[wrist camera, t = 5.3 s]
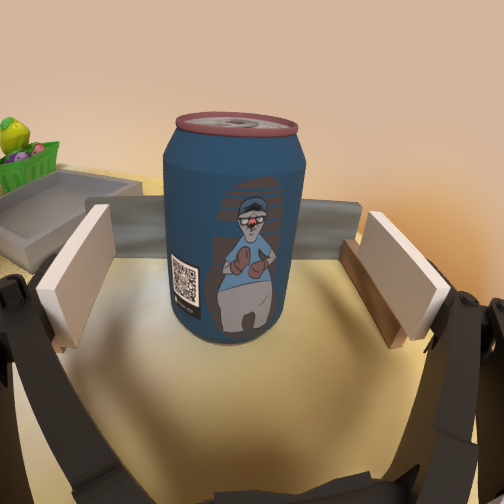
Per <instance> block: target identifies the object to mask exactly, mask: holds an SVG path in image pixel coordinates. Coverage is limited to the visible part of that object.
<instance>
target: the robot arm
mask: <svg viewBox="0 0 504 504" xmlns="http://www.w3.org/2000/svg"><path fill="white" fill-rule="evenodd" d="M115 254H116V250H115V243H114V237H113V230H112V223H111V215H110V207H109V204H99V205H94V207H93V208H92V209H91V210H90V212H89V213H88V214H87V216H86V217H85V218H84V220H83V221H82V222H81V223H80V225H79V226H78V227H77V229H76V230H75V231H74V233H73V234H72V236H71V237H70V238H69V240H68V241H67V242H66V244H65V245H64V247H63V248H62V250H61V251H60V252H59V254H52V255H50V256H49V257H48V258H47V259H45V260H44V261H43V263H42V264H41V266H40V267H39V269H38V270H37V271H36V273H35V275H34V276H33V277H32V279H31V280H30V282H29V283H28V285H26V282H25V279H24V278H23V276H22V275H19V274H11V275H8V276H5V277H3V278H2V279H0V504H34V501H33V498H32V494H31V490H30V487H29V483H28V479H27V475H26V470H25V466H24V461H23V456H22V451H21V445H20V440H19V433H18V426H17V419H16V411H15V401H14V389H13V371H12V362H15V364H16V367H17V370H18V373H19V376H20V379H21V382H22V384H23V387H24V390H25V392H26V395H27V398H28V400H29V403H30V405H31V407H32V410H33V412H34V415H35V417H36V419H37V421H38V424H39V426H40V428H41V430H42V432H43V434H44V436H45V439H46V441H47V443H48V445H49V447H50V449H51V450H52V452H53V454H54V456H55V458H56V460H57V462H58V464H59V465H60V467H61V469H62V471H63V472H64V474H65V476H66V478H67V479H68V481H69V483H70V485H71V487H72V495H73V498H74V500H75V501H76V503H77V504H156V503H155V501H154V500H153V499H152V498H151V497H150V496H149V495H148V494H147V492H146V491H145V490H144V489H143V488H142V487H141V485H140V484H139V483H138V482H137V481H136V479H135V478H134V477H133V476H132V474H131V473H130V472H129V470H128V469H127V468H126V467H125V465H124V464H123V463H122V461H121V460H120V459H119V457H118V456H117V455H116V453H115V452H114V450H113V449H112V448H111V446H110V445H109V443H108V442H107V440H106V439H105V438H104V436H103V435H102V433H101V432H100V430H99V429H98V427H97V425H96V424H95V422H94V421H93V419H92V418H91V416H90V414H89V413H88V411H87V410H86V408H85V406H84V405H83V403H82V401H81V399H80V398H79V396H78V394H77V393H76V391H75V389H74V387H73V385H72V384H71V382H70V380H69V378H68V376H67V374H66V372H65V370H64V368H63V366H62V365H61V363H60V361H59V358H58V356H57V354H56V352H55V350H54V348H53V346H52V344H51V343H52V341H53V339H54V336H55V337H56V339H57V342H58V344H59V346H61V347H69V348H77V346H78V344H79V341H80V338H81V335H82V333H83V330H84V327H85V325H86V322H87V320H88V317H89V314H90V312H91V309H92V307H93V304H94V302H95V299H96V297H97V295H98V292H99V290H100V288H101V285H102V283H103V281H104V278H105V276H106V274H107V271H108V269H109V267H110V265H111V263H112V260H113V258H114V256H115ZM357 256H358V258H359V259H360V261H361V262H362V264H363V265H364V267H365V268H366V270H367V271H368V273H369V274H370V276H371V277H372V279H373V280H374V282H375V283H376V285H377V287H378V288H379V290H380V291H381V293H382V294H383V296H384V298H385V299H386V301H387V302H388V304H389V306H390V307H391V309H392V310H393V312H394V314H395V315H396V317H397V319H398V320H399V322H400V324H401V325H402V327H403V329H404V330H405V332H406V334H407V335H408V337H409V339H410V341H413V340H419V339H424V338H425V336H426V335H427V333H428V331H429V329H430V328H431V330H432V331H433V333H434V335H433V337H432V338H431V340H430V342H429V343H428V345H427V347H426V349H425V350H424V352H423V353H426V352H427V351H428V353H427V357H426V361H425V365H424V369H423V373H422V377H421V380H420V384H419V387H418V391H417V394H416V398H415V401H414V404H413V407H412V410H411V413H410V416H409V419H408V422H407V425H406V428H405V431H404V434H403V436H402V439H401V442H400V444H399V447H398V449H397V452H396V454H395V457H394V459H393V462H392V464H391V466H390V468H389V469H388V471H387V472H386V473H385V475H384V476H383V477H382V479H374V478H371V475H370V472H369V471H367V472H363V473H359V474H355V475H351V476H346V477H342V478H337V479H334V480H332V481H330V482H327V483H325V484H323V485H321V486H318V487H316V488H314V489H311V490H309V491H307V492H304V493H302V494H298V495H292V494H281V493H272V492H264V491H257V490H251V491H232V492H214V498H213V499H209V500H205V501H202V502H199V503H197V504H467V502H468V499H469V495H470V491H471V488H472V484H473V479H474V475H475V471H476V466H477V461H478V499H479V504H504V300H502V299H499V298H493V299H492V300H491V302H490V304H489V306H482V305H480V304H479V302H478V300H477V299H476V298H475V297H474V296H472V295H471V294H469V293H467V292H464V291H458V292H457V290H456V289H455V288H454V287H453V286H452V285H451V283H450V282H449V281H448V280H447V279H446V278H445V276H443V274H442V273H441V272H440V271H438V269H437V267H436V266H435V265H434V264H433V263H432V262H431V261H429V260H428V259H426V258H425V257H424V256H422V254H421V253H420V252H419V251H418V250H417V249H416V248H415V247H414V246H413V245H412V243H411V242H410V241H409V240H408V239H407V238H406V237H405V236H404V235H403V234H402V233H401V232H400V231H399V230H398V229H397V228H396V227H395V226H394V225H393V224H392V223H391V222H390V221H389V220H388V219H387V218H386V217H385V216H384V215H383V214H382V213H381V212H373V211H369V213H368V217H367V221H366V225H365V229H364V232H363V236H362V240H361V243H360V247H359V251H358V254H357ZM495 342H496V344H495ZM494 344H495V348H494V350H492V347H493V345H494ZM475 415H476V427H477V444H475V443H472V442H471V438H472V432H473V426H474V419H475Z"/></svg>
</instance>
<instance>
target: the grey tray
mask: <svg viewBox="0 0 504 504" xmlns="http://www.w3.org/2000/svg"><path fill="white" fill-rule="evenodd" d="M106 196H143V191H142V182H139V181H133V180H127V179H121V178H115V177H109V176H103V175H96V174H90V173H83V172H77V171H70V170H63V169H58V170H56V171H53V172H51V173H49V174H47V175H44V176H42V177H40V178H37V179H35V180H33V181H31V182H29V183H26V184H24V185H22V186H20V187H18V188H16V189H14V190H12V191H10V192H8V193H6V194H4V195H2V196H0V254H1V255H2V256H4V257H5V258H7V259H8V260H10V261H11V262H13V263H14V264H16V265H18V266H19V267H21V268H22V269H24V270H26V271H27V272H29V273H30V274H32V275H33V274H34V273H35V272H36V271H37V270H38V269H39V267H40V266H41V264H42V263H43V261H44V260H45V259H47V258H48V257H49V256H50V255H52V254H59V252H60V251H61V250H62V248H63V247H64V245H65V244H66V242H67V241H68V240H69V238H70V237H71V236H72V234H73V233H74V231H75V230H76V229H77V227H78V226H79V225H80V223H81V222H82V221H83V220H84V218H85V217H86V210H85V204H84V202H85V201H86V199H87V198H88V197H106Z"/></svg>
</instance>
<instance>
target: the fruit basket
mask: <svg viewBox="0 0 504 504" xmlns="http://www.w3.org/2000/svg"><path fill="white" fill-rule="evenodd" d="M29 137H30V130H29V129H28V128H27V127H26V126H25V125H23V124H22V123H20V122H19V121H17V120H16V119H13V118H12V117H7V118H6V119H4V120H3V121H2V122H1V124H0V146H1V149H2V151H3V153H4V154H5V155H6V156H5V157H3V158H2V159H0V184H1V186H2V188H3V190H4V192H5V193H8V192H10V191H12V190H14V189H16V188H18V187H20V186H22V185H24V184H26V183H29V182H31V181H33V180H35V179H37V178H40V177H42V176H44V175H47V174H49V173H51V172H53V171H55V164H56V157H57V150H58V148H59V142H57V141H56V142H46V143H38V142H34V143H31V144H29V145H28V143H29Z"/></svg>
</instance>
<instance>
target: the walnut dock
mask: <svg viewBox="0 0 504 504" xmlns="http://www.w3.org/2000/svg"><path fill="white" fill-rule="evenodd" d="M84 204H85V210H86V216H87V214H88V213H89V212H90V210H91V209H92V208H93V207H94V205H99V204H109V207H110V215H111V223H112V230H113V237H114V243H115V250H116V254H115V256H114V257H118V258H167V247H166V230H165V211H164V196H106V197H88V198H87V199H86V201H85V202H84ZM361 212H362V206H361V205H360V204H359V203H358V202H345V201H330V200H314V199H301V203H300V210H299V217H298V223H297V229H296V236H295V242H294V248H293V254H292V259H339V260H340V261H341V263H342V265H343V266H344V268H345V270H346V271H347V273H348V275H349V276H350V278H351V280H352V282H353V283H354V285H355V287H356V289H357V290H358V292H359V294H360V296H361V297H362V299H363V301H364V303H365V304H366V306H367V308H368V310H369V312H370V313H371V315H372V317H373V319H374V321H375V322H376V324H377V326H378V328H379V330H380V332H381V334H382V335H383V337H384V339H385V341H386V343H387V345H388V347H389V349H391V348H397V347H402V346H403V344H404V342H405V340H406V338H407V336H408V335H407V334H406V332H405V330H404V329H403V327H402V325H401V324H400V322H399V320H398V319H397V317H396V315H395V314H394V312H393V310H392V309H391V307H390V306H389V304H388V302H387V301H386V299H385V298H384V296H383V294H382V293H381V291H380V290H379V288H378V287H377V285H376V283H375V282H374V280H373V279H372V277H371V276H370V274H369V273H368V271H367V270H366V268H365V267H364V265H363V264H362V262H361V261H360V259H359V258H358V256H357V254H358V251H359V247H360V246H359V245H358V243H357V242H356V240H355V236H356V233H357V229H358V224H359V220H360V216H361ZM51 344H52V346H53V348H54V350H55V352H57V353H64V350H65V347H61V346H59V344H58V342H57V339H56V337H55V336H54V339H53V341H52V343H51Z"/></svg>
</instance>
